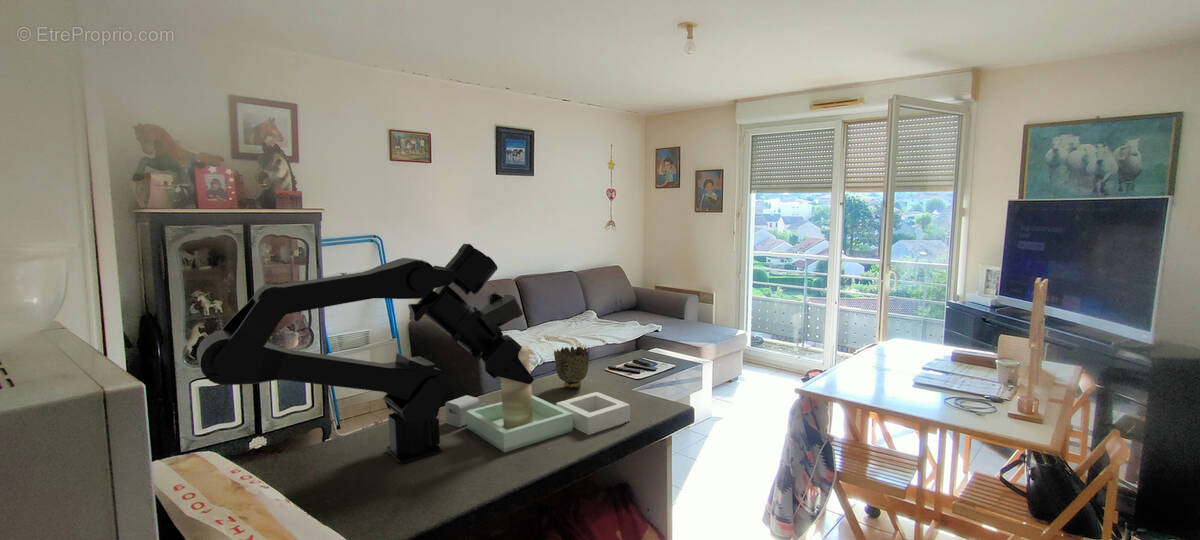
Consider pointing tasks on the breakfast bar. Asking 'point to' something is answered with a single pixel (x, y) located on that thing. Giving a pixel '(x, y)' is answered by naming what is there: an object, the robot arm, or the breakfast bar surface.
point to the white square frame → (596, 412)
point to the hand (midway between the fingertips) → (525, 376)
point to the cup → (572, 366)
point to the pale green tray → (544, 426)
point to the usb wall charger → (460, 409)
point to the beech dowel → (517, 397)
